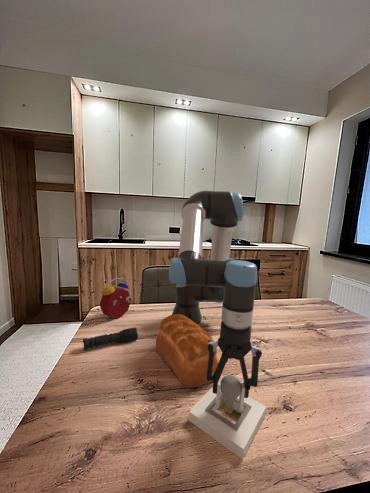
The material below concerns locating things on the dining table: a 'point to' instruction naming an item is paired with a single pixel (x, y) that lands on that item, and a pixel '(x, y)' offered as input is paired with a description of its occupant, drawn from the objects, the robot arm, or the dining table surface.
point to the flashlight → (111, 338)
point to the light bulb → (230, 390)
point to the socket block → (228, 422)
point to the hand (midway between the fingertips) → (228, 404)
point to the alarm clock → (115, 300)
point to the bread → (185, 349)
